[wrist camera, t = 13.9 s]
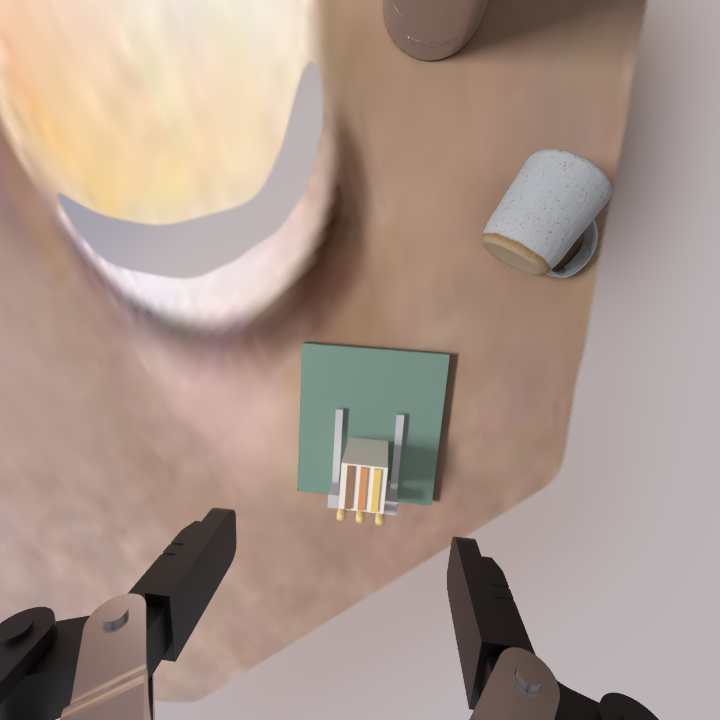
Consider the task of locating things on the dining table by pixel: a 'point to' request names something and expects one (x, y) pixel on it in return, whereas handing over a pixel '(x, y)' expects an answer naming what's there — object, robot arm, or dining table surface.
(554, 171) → the ceramic mug
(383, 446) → the plug block
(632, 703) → the robot arm
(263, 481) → the dining table surface
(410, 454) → the header board
